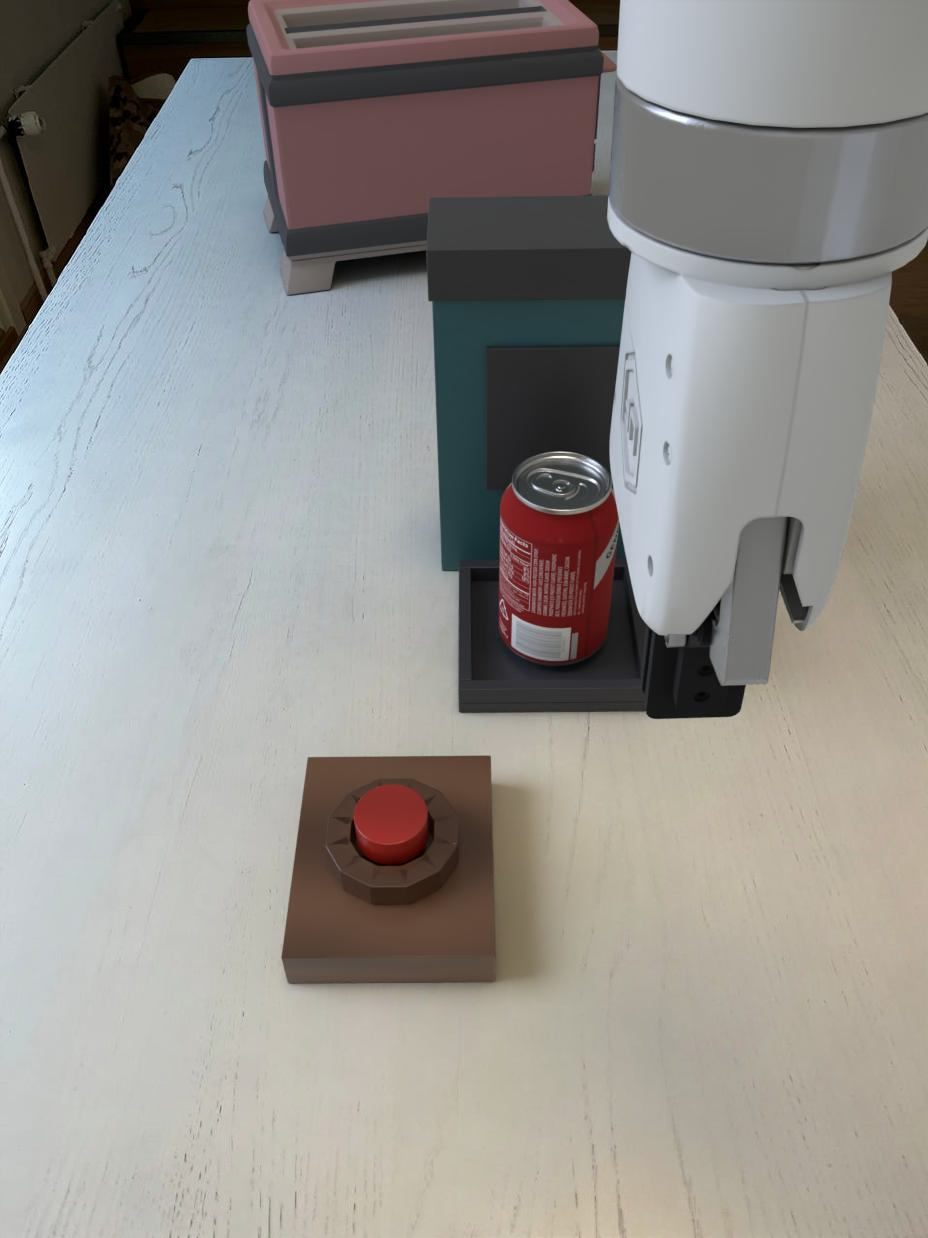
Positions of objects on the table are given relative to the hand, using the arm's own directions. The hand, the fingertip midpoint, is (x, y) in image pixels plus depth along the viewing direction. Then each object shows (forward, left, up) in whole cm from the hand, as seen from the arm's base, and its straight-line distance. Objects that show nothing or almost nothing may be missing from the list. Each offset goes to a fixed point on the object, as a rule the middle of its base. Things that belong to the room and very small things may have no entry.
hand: (688, 700), depth 38 cm
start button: (+6, +12, -17) cm, 22 cm away
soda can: (+23, +2, -20) cm, 31 cm away
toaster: (+83, +11, -21) cm, 87 cm away
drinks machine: (+33, +3, -21) cm, 39 cm away
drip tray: (+23, +3, -21) cm, 31 cm away
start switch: (+6, +12, -21) cm, 25 cm away
